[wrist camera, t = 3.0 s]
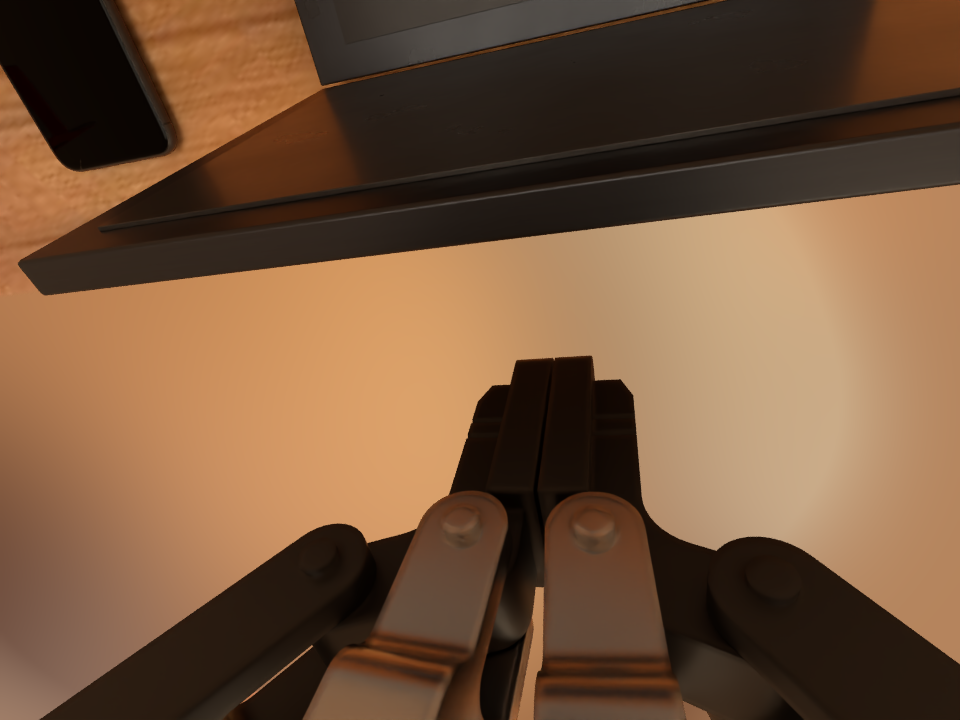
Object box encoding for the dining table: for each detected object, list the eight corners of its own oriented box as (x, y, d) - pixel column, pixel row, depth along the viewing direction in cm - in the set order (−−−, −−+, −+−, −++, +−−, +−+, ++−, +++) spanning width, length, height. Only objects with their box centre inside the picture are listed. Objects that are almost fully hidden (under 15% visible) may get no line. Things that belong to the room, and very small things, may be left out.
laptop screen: (8, 258, 10) (42, 297, 11) (1569, 23, 5) (1478, 125, 5) (321, 86, 22) (329, 109, 22) (886, -39, 16) (879, -5, 17)
